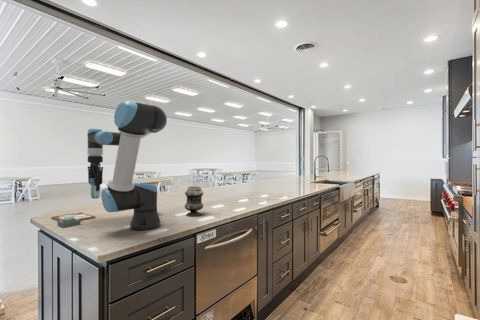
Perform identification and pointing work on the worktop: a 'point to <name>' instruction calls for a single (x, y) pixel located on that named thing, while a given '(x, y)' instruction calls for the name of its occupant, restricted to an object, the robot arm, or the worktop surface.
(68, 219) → the button
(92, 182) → the teal square-headed peg
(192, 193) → the apothecary jar
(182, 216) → the worktop surface
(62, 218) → the clipboard
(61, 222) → the button housing
